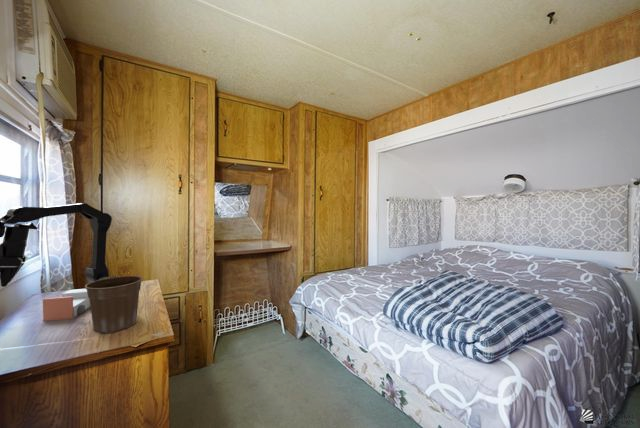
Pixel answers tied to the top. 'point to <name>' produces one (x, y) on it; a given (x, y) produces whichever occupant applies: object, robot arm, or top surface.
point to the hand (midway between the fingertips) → (5, 284)
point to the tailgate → (57, 308)
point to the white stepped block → (78, 300)
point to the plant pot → (114, 302)
